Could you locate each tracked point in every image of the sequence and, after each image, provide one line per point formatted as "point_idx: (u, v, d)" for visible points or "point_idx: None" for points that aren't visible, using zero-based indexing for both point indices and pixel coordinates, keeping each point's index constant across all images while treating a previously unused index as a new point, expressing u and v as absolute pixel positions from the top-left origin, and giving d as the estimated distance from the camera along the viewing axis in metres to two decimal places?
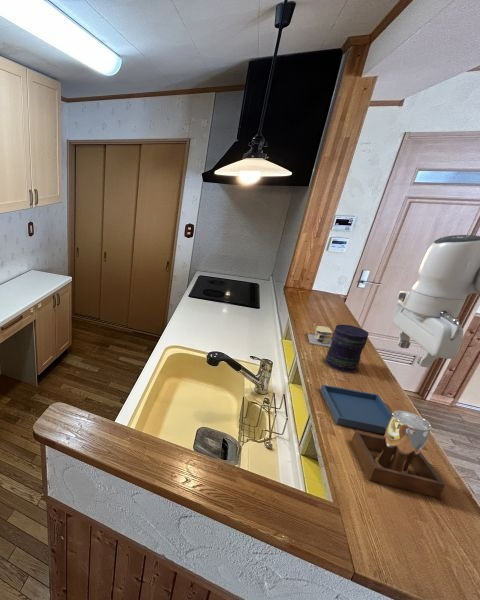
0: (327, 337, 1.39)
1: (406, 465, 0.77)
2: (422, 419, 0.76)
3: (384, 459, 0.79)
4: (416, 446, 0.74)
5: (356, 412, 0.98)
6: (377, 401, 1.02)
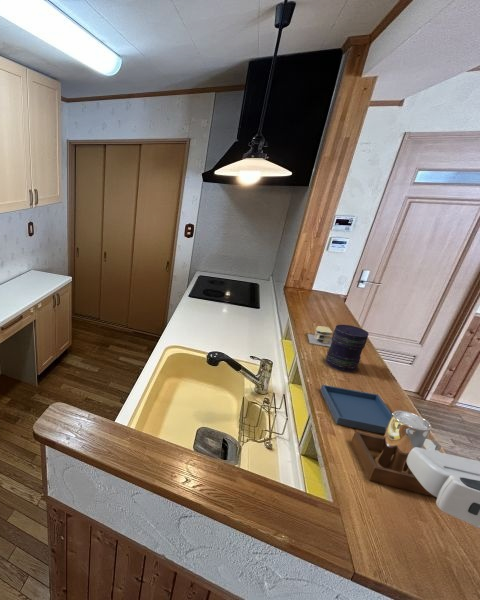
0: (327, 337, 1.39)
1: (406, 465, 0.77)
2: (422, 419, 0.76)
3: (384, 459, 0.79)
4: (416, 446, 0.74)
5: (356, 412, 0.98)
6: (377, 401, 1.02)
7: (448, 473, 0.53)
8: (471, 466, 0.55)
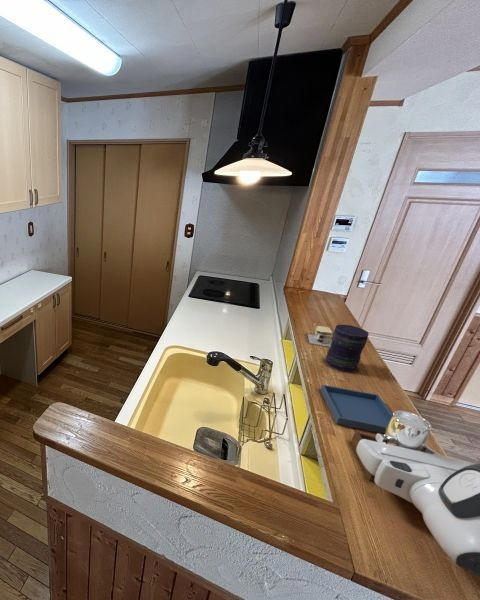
0: (327, 337, 1.39)
1: None
2: (422, 419, 0.76)
3: None
4: (416, 446, 0.74)
5: (356, 412, 0.98)
6: (377, 401, 1.02)
7: (382, 458, 0.71)
8: (401, 452, 0.73)
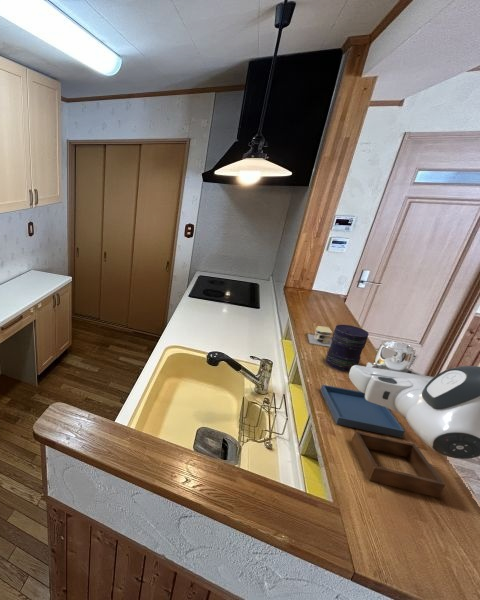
0: (327, 337, 1.39)
1: None
2: (407, 346, 0.84)
3: None
4: (402, 368, 0.82)
5: (356, 412, 0.98)
6: None
7: (371, 376, 0.79)
8: (389, 373, 0.81)
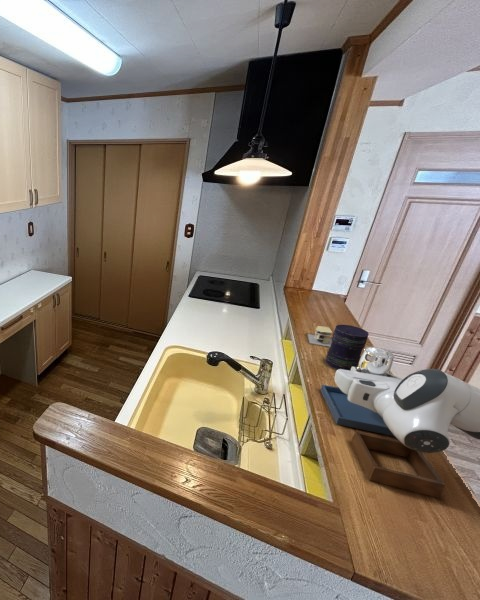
0: (327, 337, 1.39)
1: None
2: (387, 352, 0.93)
3: None
4: (382, 372, 0.91)
5: (356, 412, 0.98)
6: None
7: (353, 379, 0.87)
8: (370, 377, 0.90)
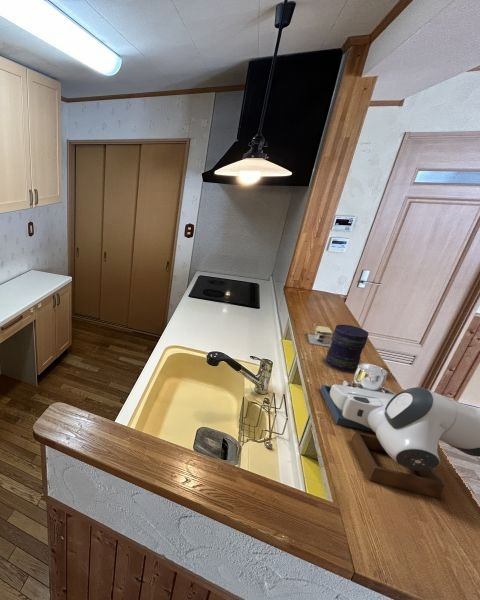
0: (327, 337, 1.39)
1: None
2: (381, 368, 0.95)
3: None
4: (375, 389, 0.93)
5: None
6: None
7: (348, 395, 0.89)
8: (364, 392, 0.92)
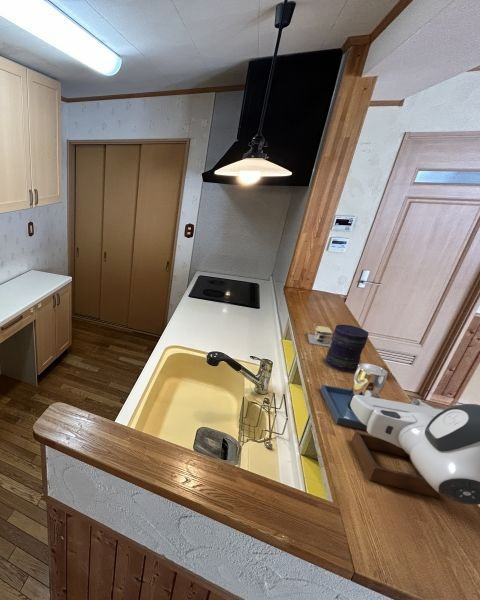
0: (327, 337, 1.39)
1: None
2: (381, 368, 0.94)
3: None
4: (375, 389, 0.93)
5: None
6: None
7: (374, 408, 0.76)
8: (392, 405, 0.79)
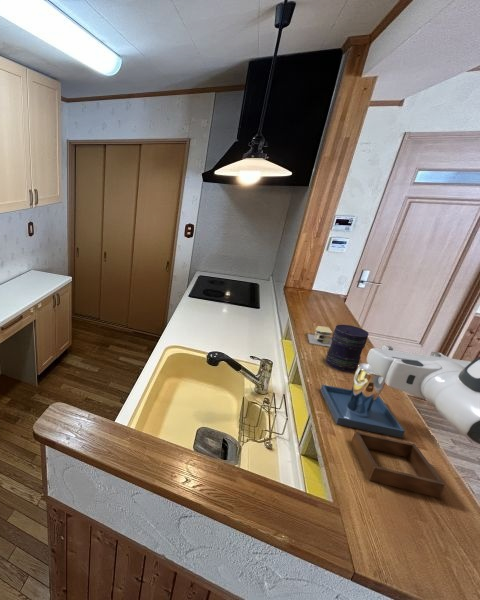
0: (327, 337, 1.39)
1: (369, 406, 0.96)
2: None
3: (352, 403, 0.98)
4: (375, 389, 0.93)
5: None
6: (377, 401, 1.02)
7: (393, 358, 0.71)
8: (412, 356, 0.73)
